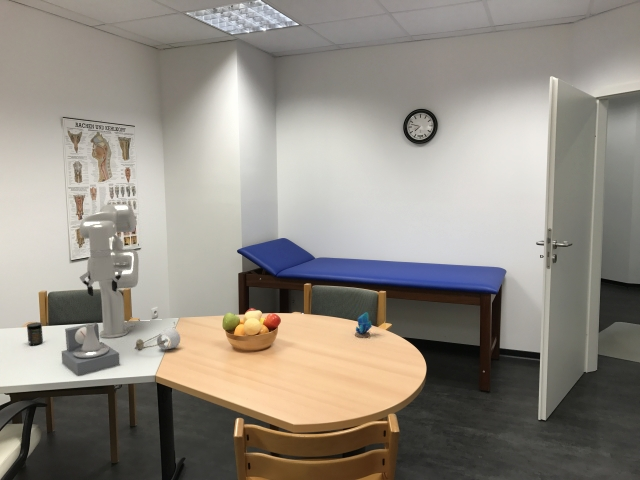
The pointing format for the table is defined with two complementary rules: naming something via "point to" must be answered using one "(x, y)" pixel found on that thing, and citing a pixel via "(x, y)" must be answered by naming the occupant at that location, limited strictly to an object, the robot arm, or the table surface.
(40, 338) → the supplement container
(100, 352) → the pan
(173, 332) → the light fixture
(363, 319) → the gemstone
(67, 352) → the scale
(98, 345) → the flask
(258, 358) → the table surface
